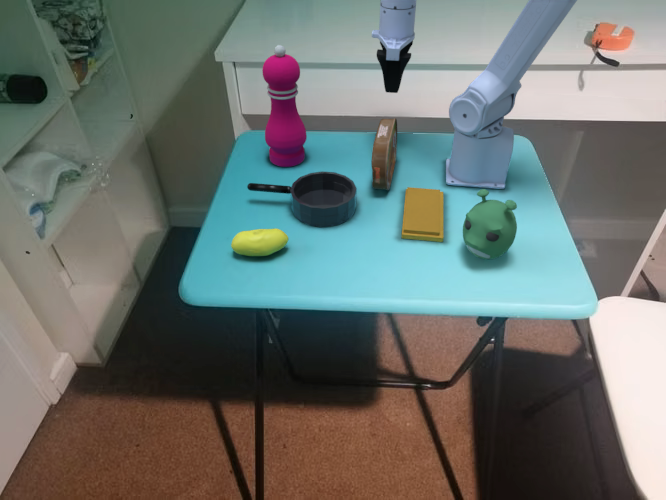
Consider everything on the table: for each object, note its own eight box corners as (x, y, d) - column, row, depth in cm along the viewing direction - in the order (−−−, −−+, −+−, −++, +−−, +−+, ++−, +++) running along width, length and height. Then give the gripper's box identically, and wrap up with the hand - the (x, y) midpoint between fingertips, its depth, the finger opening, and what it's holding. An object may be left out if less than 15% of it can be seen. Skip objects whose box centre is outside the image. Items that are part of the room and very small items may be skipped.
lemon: (233, 244, 78) (230, 222, 75) (289, 241, 78) (287, 219, 76) (231, 263, 75) (228, 241, 72) (289, 260, 75) (287, 238, 72)
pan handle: (293, 191, 84) (293, 184, 83) (291, 195, 83) (291, 189, 83) (248, 187, 85) (248, 181, 84) (246, 191, 84) (245, 185, 83)
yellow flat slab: (442, 195, 87) (443, 188, 86) (442, 242, 78) (444, 234, 77) (405, 192, 88) (406, 185, 87) (401, 238, 78) (402, 230, 78)
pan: (359, 192, 88) (359, 174, 85) (351, 229, 80) (351, 210, 78) (299, 187, 89) (298, 169, 87) (285, 223, 81) (284, 204, 79)
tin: (387, 200, 86) (390, 154, 81) (367, 198, 86) (369, 152, 81) (397, 153, 97) (401, 110, 92) (380, 151, 98) (382, 108, 92)
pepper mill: (315, 154, 97) (311, 42, 84) (292, 172, 92) (285, 57, 80) (282, 144, 100) (274, 34, 87) (258, 161, 95) (246, 48, 82)
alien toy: (445, 256, 75) (455, 197, 69) (476, 231, 80) (488, 174, 73) (489, 280, 72) (503, 220, 65) (519, 253, 76) (535, 194, 69)
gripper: (377, -9, 92) (373, 69, 101) (368, 17, 81) (365, 102, 90) (418, -8, 91) (411, 71, 100) (415, 19, 80) (408, 105, 89)
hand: (392, 86), depth 95 cm, fingers open, 4 cm apart
